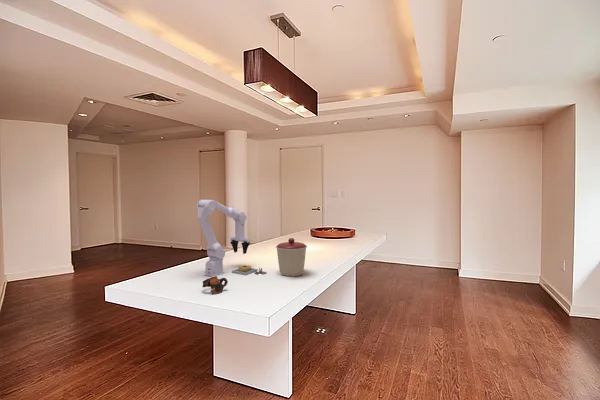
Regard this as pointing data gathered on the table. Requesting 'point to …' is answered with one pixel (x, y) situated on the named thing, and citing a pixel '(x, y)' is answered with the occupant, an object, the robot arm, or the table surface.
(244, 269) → the brass ring
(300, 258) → the canister
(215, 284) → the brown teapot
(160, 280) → the table surface
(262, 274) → the steel stake
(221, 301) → the table surface
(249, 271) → the slate tray
